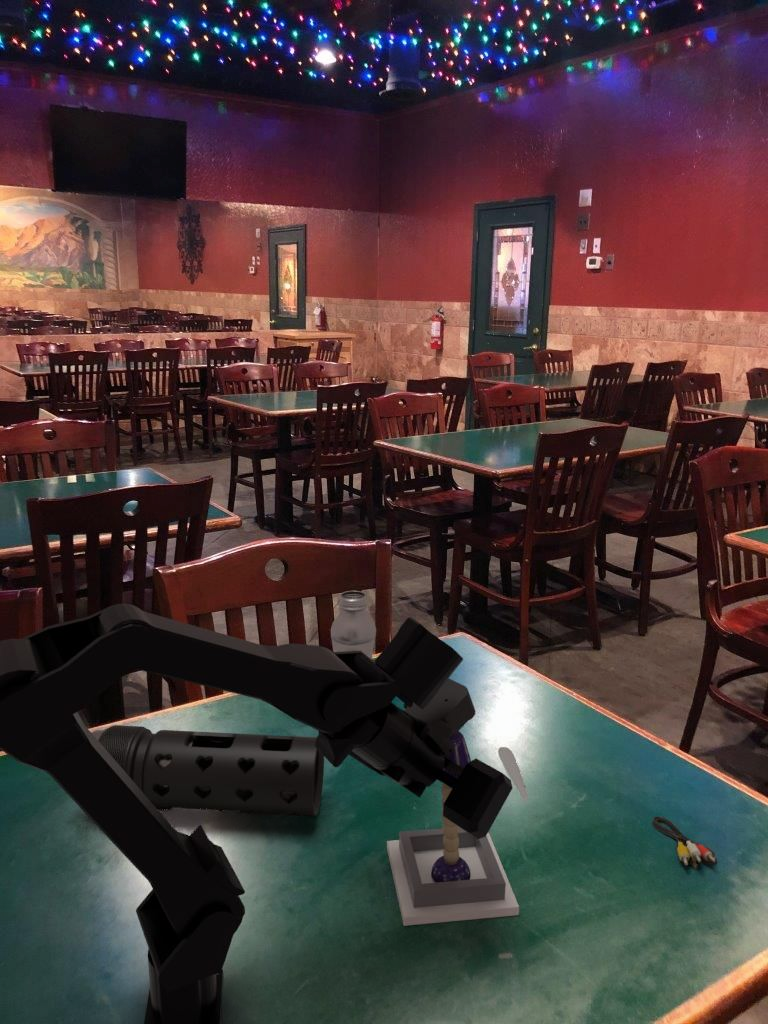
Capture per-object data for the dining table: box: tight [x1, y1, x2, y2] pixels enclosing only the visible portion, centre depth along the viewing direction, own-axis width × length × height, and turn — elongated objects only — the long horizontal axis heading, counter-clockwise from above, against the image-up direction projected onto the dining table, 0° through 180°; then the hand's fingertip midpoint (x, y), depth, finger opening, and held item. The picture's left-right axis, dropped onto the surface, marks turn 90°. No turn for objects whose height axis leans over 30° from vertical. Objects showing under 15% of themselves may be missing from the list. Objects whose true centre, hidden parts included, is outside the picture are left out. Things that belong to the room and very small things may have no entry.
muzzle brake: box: [91, 724, 325, 818], centre depth 100 cm, size 10×28×10 cm, turn 86°
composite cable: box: [651, 815, 718, 870], centre depth 96 cm, size 10×5×2 cm, turn 6°
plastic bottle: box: [330, 590, 377, 660], centre depth 120 cm, size 6×7×20 cm
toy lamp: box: [431, 730, 472, 883], centre depth 87 cm, size 5×5×17 cm
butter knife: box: [497, 746, 530, 803], centre depth 103 cm, size 1×27×3 cm
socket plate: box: [386, 827, 520, 927], centre depth 90 cm, size 12×12×3 cm
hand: (461, 794), depth 88 cm, fingers open, 9 cm apart
